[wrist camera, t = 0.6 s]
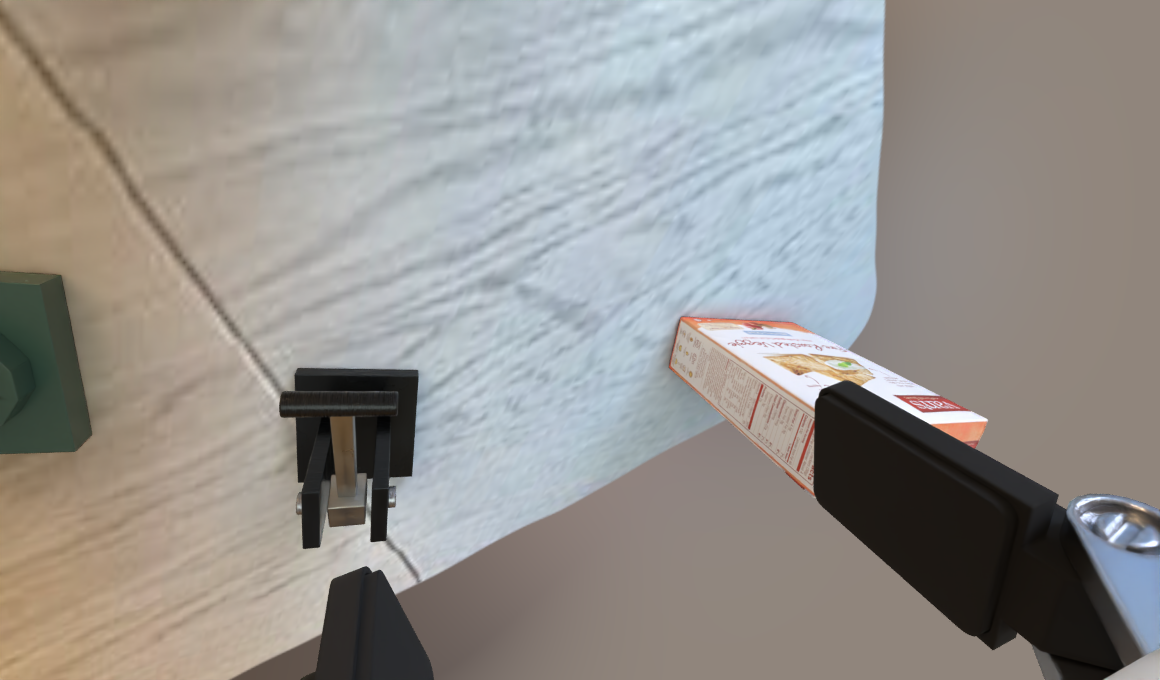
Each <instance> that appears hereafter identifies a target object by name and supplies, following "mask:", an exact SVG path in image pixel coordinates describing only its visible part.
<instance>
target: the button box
mask: <svg viewBox="0 0 1160 680" xmlns="http://www.w3.org/2000/svg"><path fill="white" fill-rule="evenodd" d="M91 435H92V431H91V426H90V420H89V415H88V410H87V405H86V400H85V395H84V390H83V385H82V380H81V375H80V370H79V365H78V359H77V354H76V349H75V344H74V339H73V334H72V329H71V324H70V319H69V314H68V309H67V303H66V298H65V293H64V288H63V283H62V278H61V275H51V274H36V273H20V272H5V271H0V454H21V453H52V452H75V451H77V450H78V449H79V448H80V447H81V446H82V445H83V444H84V442H85V441H86V440H87V439H88V438H89V437H90V436H91Z"/></svg>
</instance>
